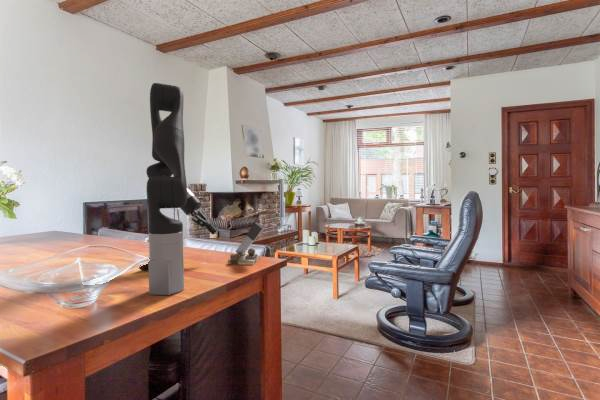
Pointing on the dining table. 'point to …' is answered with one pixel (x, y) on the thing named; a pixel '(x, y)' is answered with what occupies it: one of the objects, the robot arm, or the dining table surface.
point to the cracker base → (244, 258)
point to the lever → (249, 238)
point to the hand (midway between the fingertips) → (215, 232)
